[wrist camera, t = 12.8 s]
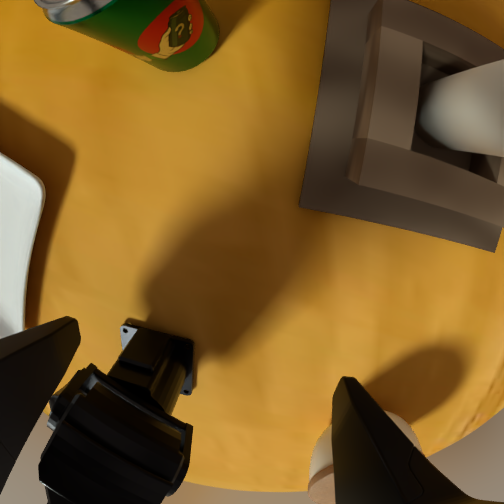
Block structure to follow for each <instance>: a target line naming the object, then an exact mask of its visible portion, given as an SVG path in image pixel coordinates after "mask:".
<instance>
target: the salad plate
mask: <svg viewBox="0 0 504 504" xmlns="http://www.w3.org/2000/svg"><path fill="white" fill-rule="evenodd" d="M45 198H46V190H45V186H44V184H43V182H42V180H41V179H40V178H39V177H38V176H36V175H35V174H33V173H32V172H30V171H29V170H27V169H26V168H24V167H23V166H21V165H19V164H18V163H16V162H15V161H13V160H12V159H10V158H9V157H7V156H6V155H4V154H2V153H1V152H0V339H1V338H4V337H7V336H10V335H12V334H15V333H18V332H21V331H24V330H25V305H26V291H27V281H28V273H29V266H30V260H31V255H32V250H33V245H34V241H35V237H36V233H37V229H38V225H39V221H40V218H41V214H42V211H43V207H44V203H45Z"/></svg>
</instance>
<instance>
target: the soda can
mask: <svg viewBox="0 0 504 504" xmlns="http://www.w3.org/2000/svg"><path fill="white" fill-rule="evenodd" d="M34 2H35V3H36V4H37V5H38V6H39V7H41V8H42V9H43V12H44V14H45V16H46V18H47V19H48V20H49V21H51V22H53V23H55V24H58V25H60V26H63V27H66V28H68V29H71V30H74V31H76V32H79V33H81V34H84V35H86V36H89V37H91V38H94V39H96V40H98V41H101V42H103V43H105V44H108V45H110V46H112V47H114V48H117V49H119V50H121V51H123V52H125V53H128V54H130V55H132V56H134V57H136V58H138V59H140V60H142V61H144V62H146V63H148V64H150V65H152V66H154V67H156V68H158V69H161V70H163V71H167V72H181V71H185V70H188V69H191V68H193V67H195V66H197V65H199V64H200V63H202V62H203V61H204V60H206V59H207V58H208V57H209V55H210V54H211V53H212V52H213V50H214V49H215V47H216V45H217V42H218V39H219V25H218V22H217V20H216V18H215V16H214V15H213V13H212V12H211V10H210V8H209V7H208V5H207V4H206V2H205V0H34Z"/></svg>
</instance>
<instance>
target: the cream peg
mask: <svg viewBox="0 0 504 504" xmlns="http://www.w3.org/2000/svg"><path fill="white" fill-rule="evenodd" d="M414 129H415V131H416V133H417V134H418V136H419V137H420V138H421V139H422V140H423V141H424V142H425V143H427V144H428V145H430V146H432V147H435V148H439V149H448V150H457V151H466V152H473V153H481V154H487V155H494V156H500V157H504V59H503V60H500V61H496V62H492V63H489V64H485V65H482V66H479V67H475V68H472V69H469V70H466V71H463V72H459V73H456V74H453V75H450V76H447V77H444V78H441V79H439V80H436V81H433V82H430V83H427V84H424V85H422V86H420V87H419V95H418V104H417V111H416V118H415V125H414Z"/></svg>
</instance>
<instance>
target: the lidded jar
mask: <svg viewBox="0 0 504 504" xmlns="http://www.w3.org/2000/svg"><path fill="white" fill-rule="evenodd" d="M384 411H385V410H384ZM385 412H386V414H387V415H388V416H389V417H390V418H391V419H392V420H393V421H394V423H395V424H396V425H397V426H398V427H399V428H400V429H401V430H402V432H403V433H404V434H405V435H406V436H407V437H408V438H409V439H410V441H411V442H412V443H413V444H414V446H416V447H417V448H418V450H419V451H420V452H421V453H422V454H423V452H422V449H421V446H420V443H419V441H418V438H417V436H416V434H415V433H414V431H413V430H412V428H411V427H410V425H409V424H408V423H407V422H406V421H405V420H404V419H402V418H401V417H399V416H398V415H396V414H394V413H392V412H389V411H385ZM331 431H332V424H331V425H330V426H329V427H328V428H327V429H326V430H325V431H324V432H323V433H322V434H321V436H320V437H319V439H318V440H317V442H316V445H315V447H314V449H313V452H312V456H311V462H310V469H309V484H308V495H309V497H310V499H311V500H312V501H314V502H315V503H317V504H335V486H334V470H333V456H332V443H331ZM423 455H424V454H423ZM424 456H425V455H424Z"/></svg>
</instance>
